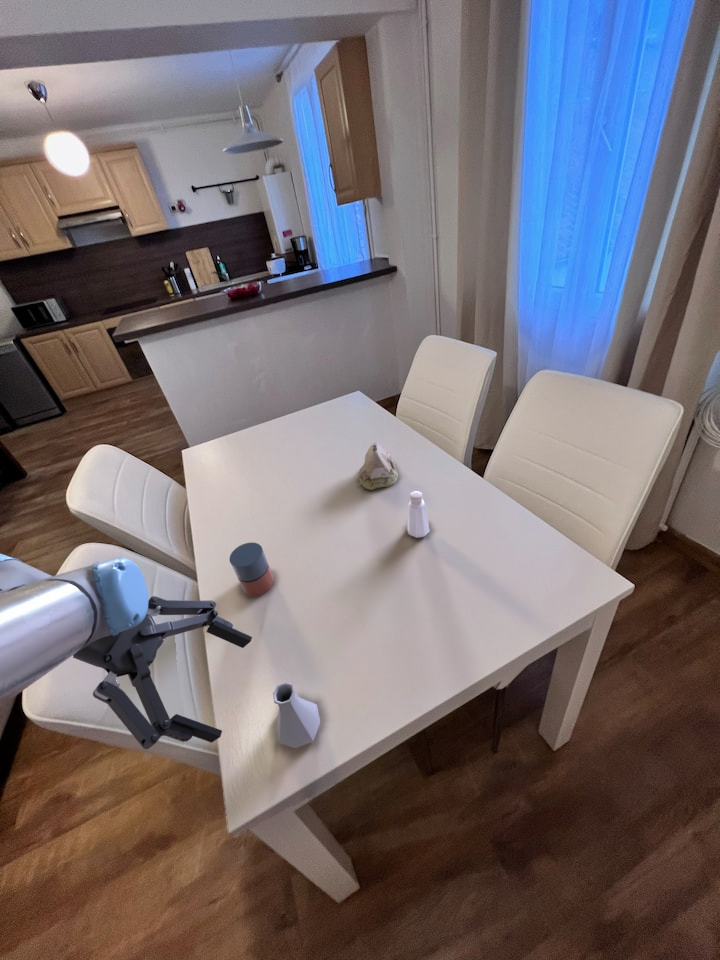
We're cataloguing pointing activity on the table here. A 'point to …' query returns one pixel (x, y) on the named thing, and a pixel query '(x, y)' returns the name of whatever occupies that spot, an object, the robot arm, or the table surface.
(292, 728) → the flask
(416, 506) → the pepper shaker
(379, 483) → the ceramic model
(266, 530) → the table surface
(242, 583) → the cup stack
